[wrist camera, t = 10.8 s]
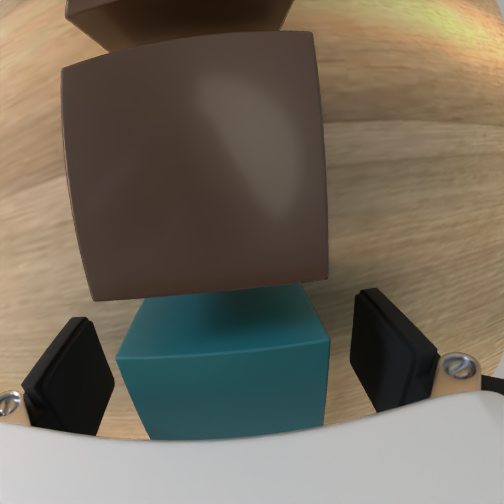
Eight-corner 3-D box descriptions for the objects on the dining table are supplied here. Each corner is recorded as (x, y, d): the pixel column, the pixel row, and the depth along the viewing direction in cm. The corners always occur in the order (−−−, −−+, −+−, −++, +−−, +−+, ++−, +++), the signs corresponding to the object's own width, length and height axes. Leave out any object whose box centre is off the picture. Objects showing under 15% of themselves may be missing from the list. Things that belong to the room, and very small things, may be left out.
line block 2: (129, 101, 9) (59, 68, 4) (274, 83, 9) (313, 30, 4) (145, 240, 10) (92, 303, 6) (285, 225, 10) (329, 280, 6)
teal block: (155, 277, 11) (113, 358, 6) (289, 263, 11) (331, 338, 6) (180, 379, 12) (166, 471, 8) (292, 369, 12) (319, 458, 8)
